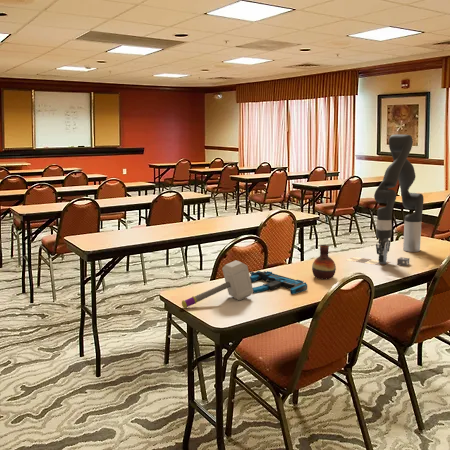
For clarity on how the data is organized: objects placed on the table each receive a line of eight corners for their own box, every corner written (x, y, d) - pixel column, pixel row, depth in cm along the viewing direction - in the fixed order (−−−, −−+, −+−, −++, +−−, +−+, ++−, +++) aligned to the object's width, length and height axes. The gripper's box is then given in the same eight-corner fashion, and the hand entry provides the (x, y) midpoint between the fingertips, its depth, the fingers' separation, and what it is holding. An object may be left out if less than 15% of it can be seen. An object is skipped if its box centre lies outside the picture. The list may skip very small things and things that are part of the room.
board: (353, 259, 290) (353, 256, 290) (391, 264, 277) (391, 262, 277) (345, 262, 282) (345, 260, 282) (383, 268, 270) (383, 266, 269)
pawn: (380, 262, 277) (381, 244, 276) (387, 263, 275) (388, 244, 273) (377, 263, 274) (378, 245, 273) (384, 264, 272) (385, 246, 271)
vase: (335, 274, 259) (336, 243, 257) (335, 281, 249) (336, 248, 246) (312, 273, 262) (313, 243, 259) (311, 280, 251) (311, 247, 248)
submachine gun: (221, 277, 248) (260, 265, 263) (221, 285, 248) (260, 273, 264) (273, 294, 222) (313, 280, 237) (273, 303, 222) (313, 288, 238)
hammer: (182, 290, 207) (246, 262, 220) (174, 285, 214) (236, 258, 226) (191, 324, 212) (254, 295, 224) (183, 318, 218) (244, 290, 231)
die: (400, 265, 275) (400, 257, 275) (409, 267, 273) (409, 258, 272) (397, 267, 272) (397, 258, 271) (405, 268, 269) (406, 260, 268)
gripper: (382, 225, 279) (381, 257, 282) (371, 229, 268) (369, 262, 271) (396, 226, 275) (395, 259, 278) (385, 231, 264) (384, 265, 267)
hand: (382, 261), depth 274 cm, fingers closed on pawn, 3 cm apart
